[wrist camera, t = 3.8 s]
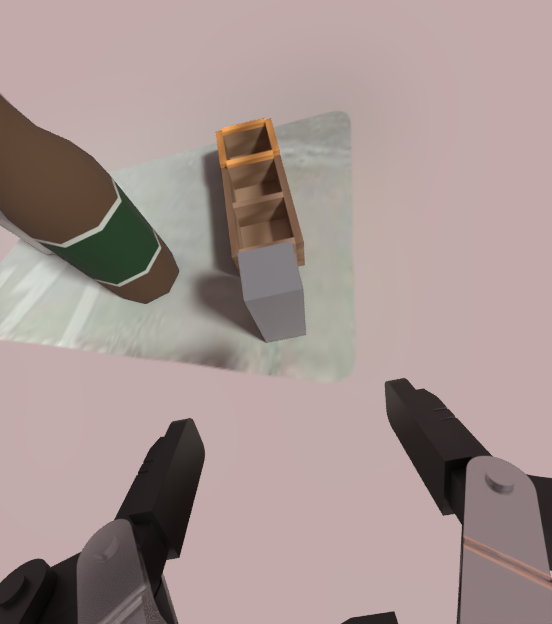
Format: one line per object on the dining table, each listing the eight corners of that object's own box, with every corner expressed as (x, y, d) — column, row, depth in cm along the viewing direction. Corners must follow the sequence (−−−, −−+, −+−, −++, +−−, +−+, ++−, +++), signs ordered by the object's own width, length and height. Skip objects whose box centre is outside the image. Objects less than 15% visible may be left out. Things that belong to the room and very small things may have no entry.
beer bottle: (124, 254, 33) (-251, -85, 11) (183, 245, 32) (-89, -135, 10) (114, 310, 30) (-442, -12, 8) (179, 301, 29) (-225, -77, 7)
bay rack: (241, 278, 29) (230, 254, 25) (225, 159, 38) (215, 126, 34) (304, 264, 29) (303, 238, 25) (274, 147, 37) (269, 113, 33)
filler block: (266, 342, 26) (243, 301, 17) (260, 307, 27) (237, 253, 19) (306, 334, 26) (303, 288, 17) (297, 299, 27) (291, 241, 19)
